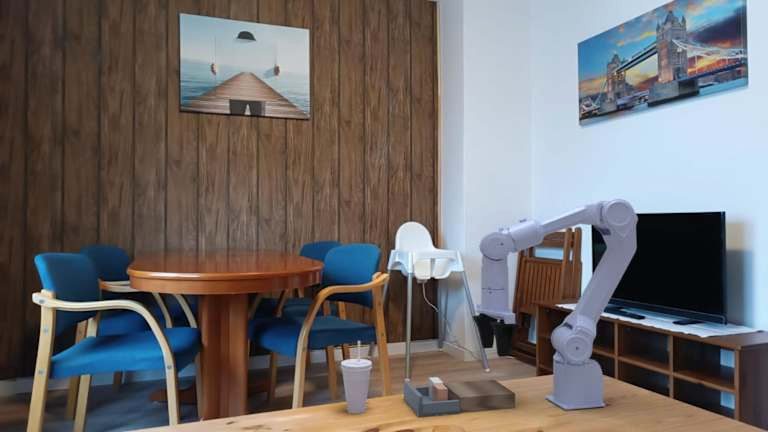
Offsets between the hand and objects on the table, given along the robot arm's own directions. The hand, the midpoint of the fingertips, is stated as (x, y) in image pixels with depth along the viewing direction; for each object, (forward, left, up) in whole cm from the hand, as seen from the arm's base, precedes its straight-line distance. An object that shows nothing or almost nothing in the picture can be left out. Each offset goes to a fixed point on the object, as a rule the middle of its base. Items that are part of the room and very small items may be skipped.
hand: (495, 352), depth 112 cm
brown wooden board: (+4, 0, -10) cm, 11 cm away
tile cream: (+12, -2, -8) cm, 14 cm away
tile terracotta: (+12, +2, -8) cm, 15 cm away
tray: (+15, 0, -10) cm, 18 cm away
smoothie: (+30, -1, -11) cm, 32 cm away
